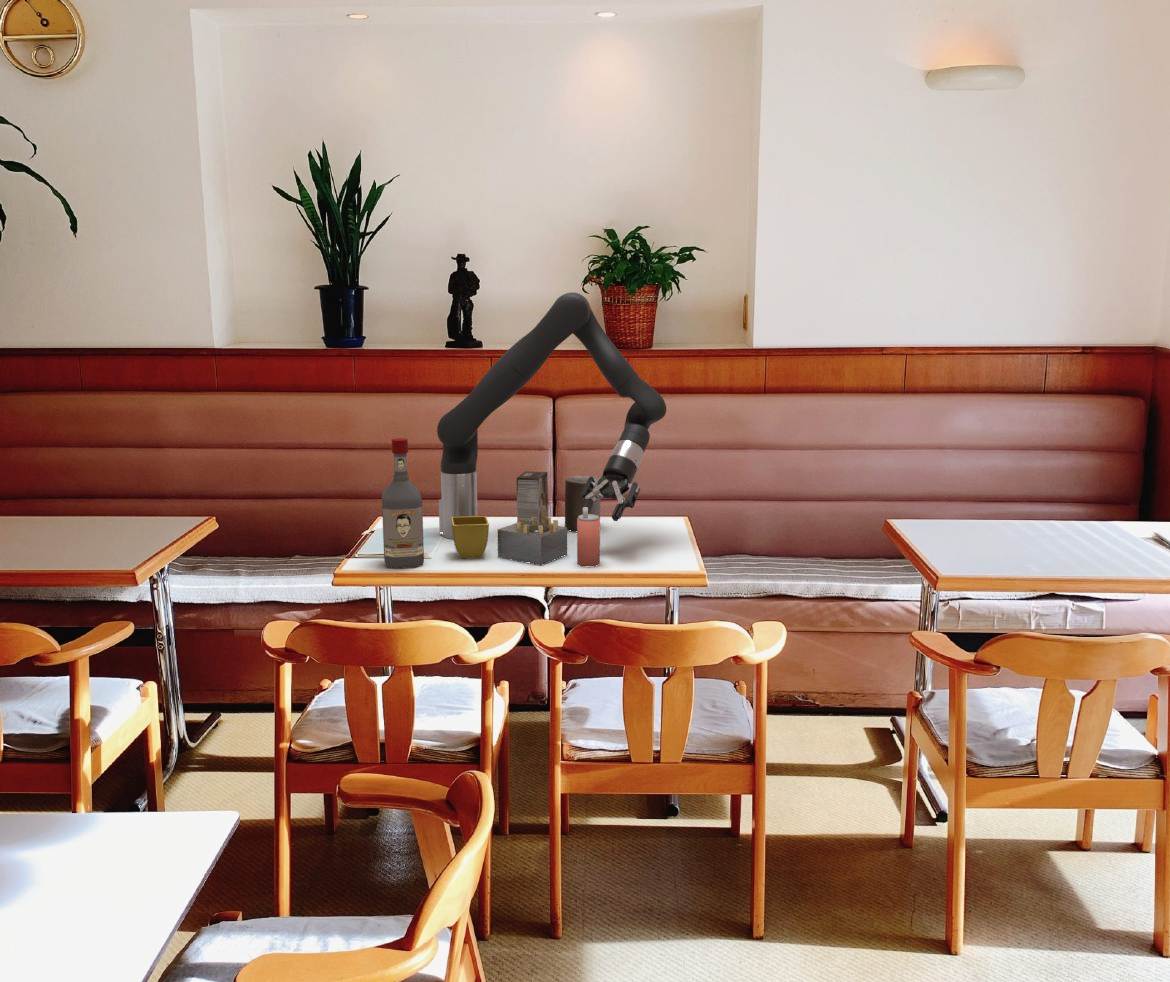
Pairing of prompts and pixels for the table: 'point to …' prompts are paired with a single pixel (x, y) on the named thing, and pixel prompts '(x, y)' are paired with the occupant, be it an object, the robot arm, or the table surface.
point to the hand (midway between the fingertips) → (599, 517)
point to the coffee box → (532, 496)
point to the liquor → (402, 515)
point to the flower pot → (470, 535)
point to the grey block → (532, 541)
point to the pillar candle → (576, 500)
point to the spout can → (588, 539)
